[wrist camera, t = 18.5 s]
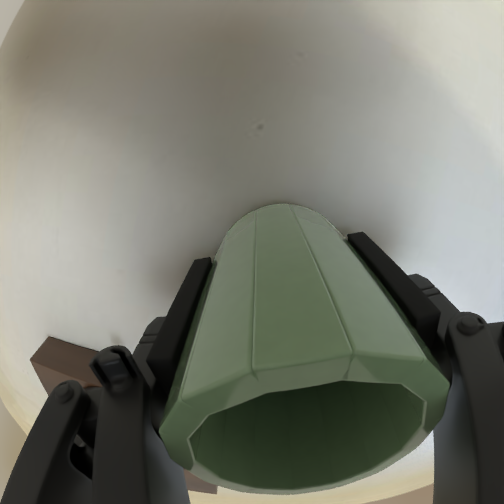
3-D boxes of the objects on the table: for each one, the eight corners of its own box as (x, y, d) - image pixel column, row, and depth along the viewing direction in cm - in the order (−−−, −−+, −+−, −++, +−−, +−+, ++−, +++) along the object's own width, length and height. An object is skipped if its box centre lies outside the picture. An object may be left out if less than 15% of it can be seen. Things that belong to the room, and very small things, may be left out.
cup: (201, 217, 12) (101, 373, 4) (342, 193, 11) (487, 308, 3) (231, 329, 14) (210, 497, 6) (348, 310, 14) (412, 466, 5)
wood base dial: (41, 313, 16) (18, 338, 13) (225, 352, 16) (219, 391, 13) (103, 446, 23) (96, 466, 20) (219, 472, 24) (216, 495, 21)
